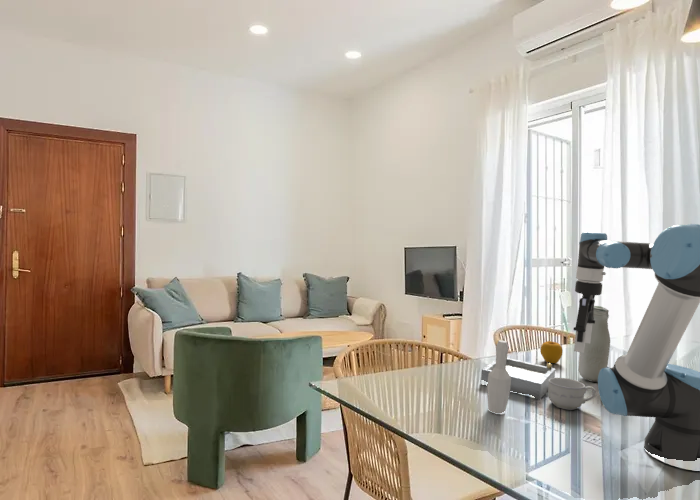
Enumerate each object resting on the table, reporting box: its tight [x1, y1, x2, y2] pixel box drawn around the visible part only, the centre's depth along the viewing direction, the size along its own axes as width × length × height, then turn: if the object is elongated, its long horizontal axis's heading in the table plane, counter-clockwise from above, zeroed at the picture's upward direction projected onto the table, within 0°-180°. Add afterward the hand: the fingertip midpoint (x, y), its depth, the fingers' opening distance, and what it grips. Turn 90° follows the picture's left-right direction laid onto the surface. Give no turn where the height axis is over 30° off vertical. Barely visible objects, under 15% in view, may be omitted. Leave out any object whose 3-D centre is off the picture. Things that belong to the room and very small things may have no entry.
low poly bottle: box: [486, 339, 511, 413], centre depth 148 cm, size 6×6×22 cm
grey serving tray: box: [480, 357, 556, 401], centre depth 174 cm, size 20×20×7 cm
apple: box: [540, 340, 563, 364], centre depth 201 cm, size 9×8×9 cm
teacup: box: [547, 377, 597, 411], centre depth 156 cm, size 14×11×8 cm
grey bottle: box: [578, 305, 611, 383], centre depth 181 cm, size 10×10×28 cm
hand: (582, 347), depth 156 cm, fingers open, 13 cm apart
